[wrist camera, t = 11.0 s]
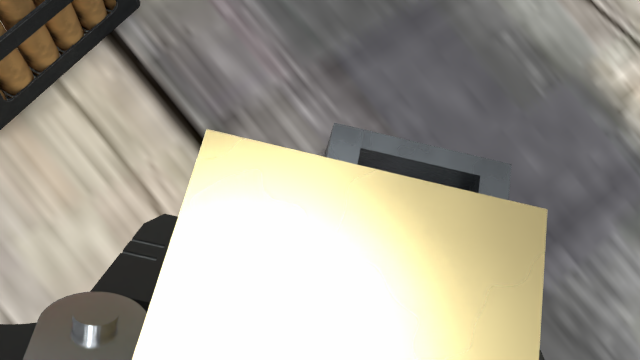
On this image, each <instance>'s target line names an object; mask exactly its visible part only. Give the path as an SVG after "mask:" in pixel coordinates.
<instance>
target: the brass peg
mask: <svg viewBox="0 0 640 360" xmlns="http://www.w3.org/2000/svg"><path fill="white" fill-rule="evenodd" d="M546 224H547V209H543V208H539V207H535V206H531V205H526V204H522V203H518V202H514V201H509V200H505V199H501V198H497V197H492V196H488V195H484V194H480V193H475V192H471V191H467V190H463V189H458V188H454V187H450V186H446V185H441V184H437V183H433V182H429V181H424V180H420V179H416V178H412V177H407V176H403V175H399V174H395V173H390V172H386V171H382V170H378V169H373V168H369V167H365V166H361V165H357V164H352V163H348V162H344V161H340V160H335V159H331V158H327V157H323V156H318V155H314V154H310V153H306V152H301V151H297V150H293V149H289V148H284V147H280V146H276V145H272V144H267V143H263V142H259V141H255V140H250V139H246V138H242V137H238V136H233V135H229V134H225V133H221V132H216V131H212V130H208V129H207V130H206V133H205V136H204V139H203V142H202V145H201V148H200V152H199V155H198V158H197V161H196V164H195V167H194V170H193V173H192V176H191V179H190V182H189V186H188V189H187V192H186V195H185V198H184V201H183V204H182V207H181V210H180V213H179V216H178V220H177V223H176V226H175V229H174V232H173V235H172V238H171V241H170V244H169V247H168V250H167V254H166V257H165V260H164V263H163V266H162V269H161V272H160V275H159V278H158V281H157V285H156V288H155V291H154V294H153V297H152V300H151V303H150V306H149V309H148V312H147V315H146V319H145V322H144V325H143V328H142V331H141V334H140V337H139V340H138V343H137V346H136V349H135V353H134V356H133V359H132V360H539V349H540V331H541V313H542V295H543V277H544V260H545V242H546Z"/></svg>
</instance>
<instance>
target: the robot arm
mask: <svg viewBox="0 0 640 360" xmlns="http://www.w3.org/2000/svg"><path fill="white" fill-rule="evenodd" d="M177 220H178V217H176V216H172V215H168V214H163V215H161V216H159V217H157V218H155V219H153V220H151V221H148V222H146V223H144V224H143V225H142V227H141V228H140V229H139V231H138V232H137V233H136V234H135V236H134V237H133V239H132V241H130V242H129V243H128V244H127V246H126V247H125V248H124V250H123V253H120V255H119V256H118V257H117V258H116V260H115V261H114V262H113V263H112V265H111V266H110V267H109V269H108V270H107V271H106V272H105V274H104V275H103V276H102V277H101V279H100V280H99V281H98V282H97V284H96V285H95V286H94V288H93V289H92V290H91V291H90V292H83V293H78V294H73V295H70V296H66V297H64V298H62V299H59V300H57V301H56V302H54V303H52V304H51V305H50V306H48V307H47V308H46V309H45V310H44V311H43V312H42V313H41V315H40V317H39V319H38V321H37V323H30V324H15V325H4V324H0V360H132V359H133V356H134V353H135V349H136V346H137V343H138V340H139V337H140V334H141V331H142V328H143V325H144V322H145V319H146V315H147V312H148V309H149V306H150V303H151V300H152V297H153V294H154V291H155V288H156V285H157V281H158V278H159V275H160V272H161V269H162V266H163V263H164V260H165V257H166V254H167V250H168V247H169V244H170V241H171V238H172V235H173V232H174V229H175V226H176V223H177ZM539 360H544V357H543V355H542V353H541V350H540V349H539Z"/></svg>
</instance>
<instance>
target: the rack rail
mask: <svg viewBox="0 0 640 360" xmlns="http://www.w3.org/2000/svg"><path fill="white" fill-rule="evenodd" d="M325 157H327V158H331V159H335V160H340V161H344V162H348V163H352V164H357V165H361V166H365V167H369V168H373V169H378V170H382V171H386V172H390V173H395V174H399V175H403V176H407V177H412V178H416V179H420V180H424V181H429V182H433V183H437V184H441V185H446V186H450V187H454V188H458V189H463V190H467V191H471V192H475V193H480V194H484V195H488V196H492V197H497V198H501V199H505V200H509V189H510V176H511V164H508V163H503V162H499V161H495V160H491V159H486V158H482V157H478V156H474V155H469V154H465V153H461V152H457V151H452V150H448V149H444V148H440V147H435V146H431V145H427V144H422V143H418V142H414V141H410V140H405V139H401V138H397V137H393V136H388V135H384V134H380V133H376V132H371V131H367V130H363V129H359V128H354V127H350V126H346V125H342V124H337V123H334V126H333V129H332V132H331V135H330V139H329V142H328V145H327V149H326V153H325Z"/></svg>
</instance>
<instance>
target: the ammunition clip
mask: <svg viewBox="0 0 640 360" xmlns="http://www.w3.org/2000/svg"><path fill="white" fill-rule="evenodd" d="M139 5H140V1H139V0H0V20H1V22H2V23H1V22H0V130H1V129H2V128H3V127H4V126H5V125H6V124H8V123H9V122H10V121H11V120H12V119H13V118H14V117H15V116H17V115H18V114H19V113H20V112H21V111H22V110H23V109H25V108H26V107H27V106H28V105H29V104H30V103H31V102H32V101H34V100H35V99H36V98H37V97H38V96H39V95H40V94H41V93H43V92H44V91H45V90H46V89H47V88H48V87H49V86H51V85H52V84H53V83H54V82H55V81H56V80H57V79H58V78H60V77H61V76H62V75H63V74H64V73H65V72H66V71H67V70H69V69H70V68H71V67H72V66H73V65H74V64H75V63H76V62H78V61H79V60H80V59H81V58H82V57H83V56H84V55H86V54H87V53H88V52H89V51H90V50H91V49H92V48H93V47H95V46H96V45H97V44H98V43H99V42H100V41H101V40H102V39H104V38H105V37H106V36H107V35H108V34H109V33H110V32H112V31H113V30H114V29H115V28H116V27H117V26H118V25H119V24H121V23H122V22H123V21H124V20H125V19H126V18H127V17H128V16H130V15H131V14H132V13H133V12H134V11H135V10H136V9H138V8H139ZM2 24H3V25H4V27H5V28H4V27H3V25H2ZM5 29H6V30H7V31H6V30H5ZM17 48H18V49H17Z"/></svg>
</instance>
